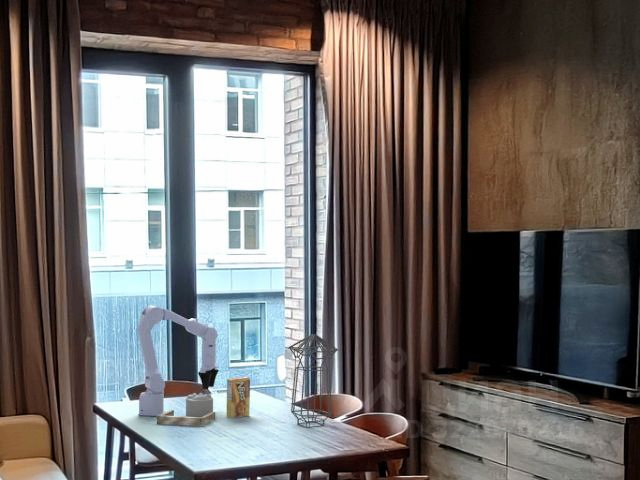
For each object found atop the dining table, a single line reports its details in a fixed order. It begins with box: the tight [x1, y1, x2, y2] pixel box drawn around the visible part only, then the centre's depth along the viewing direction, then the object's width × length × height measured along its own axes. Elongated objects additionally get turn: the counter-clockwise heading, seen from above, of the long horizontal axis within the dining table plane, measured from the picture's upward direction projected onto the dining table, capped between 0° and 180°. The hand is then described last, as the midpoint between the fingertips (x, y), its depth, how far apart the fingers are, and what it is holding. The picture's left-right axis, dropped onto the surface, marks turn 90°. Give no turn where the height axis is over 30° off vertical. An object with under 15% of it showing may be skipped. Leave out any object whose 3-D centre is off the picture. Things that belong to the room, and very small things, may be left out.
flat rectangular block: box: [156, 409, 216, 427], centre depth 341 cm, size 19×14×3 cm
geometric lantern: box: [287, 333, 340, 429], centre depth 337 cm, size 16×16×35 cm
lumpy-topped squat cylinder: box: [185, 392, 214, 417], centre depth 354 cm, size 10×13×9 cm
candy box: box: [225, 376, 251, 419], centre depth 353 cm, size 9×4×15 cm, turn 129°
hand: (208, 387), depth 365 cm, fingers open, 6 cm apart
